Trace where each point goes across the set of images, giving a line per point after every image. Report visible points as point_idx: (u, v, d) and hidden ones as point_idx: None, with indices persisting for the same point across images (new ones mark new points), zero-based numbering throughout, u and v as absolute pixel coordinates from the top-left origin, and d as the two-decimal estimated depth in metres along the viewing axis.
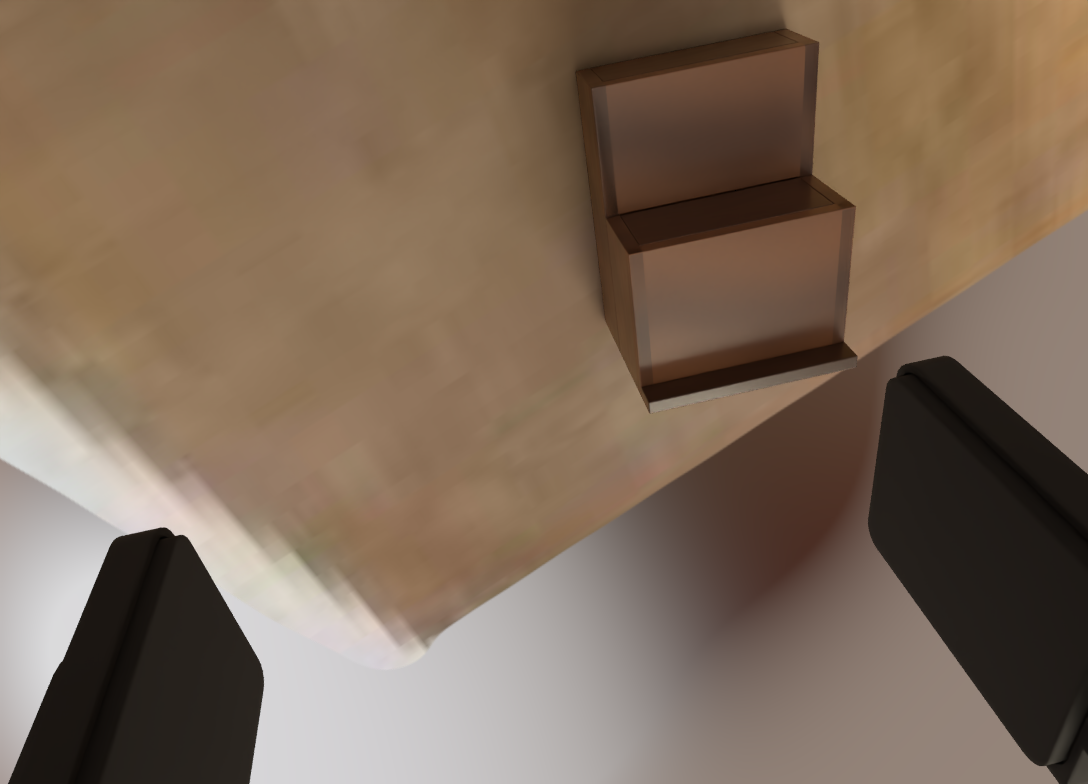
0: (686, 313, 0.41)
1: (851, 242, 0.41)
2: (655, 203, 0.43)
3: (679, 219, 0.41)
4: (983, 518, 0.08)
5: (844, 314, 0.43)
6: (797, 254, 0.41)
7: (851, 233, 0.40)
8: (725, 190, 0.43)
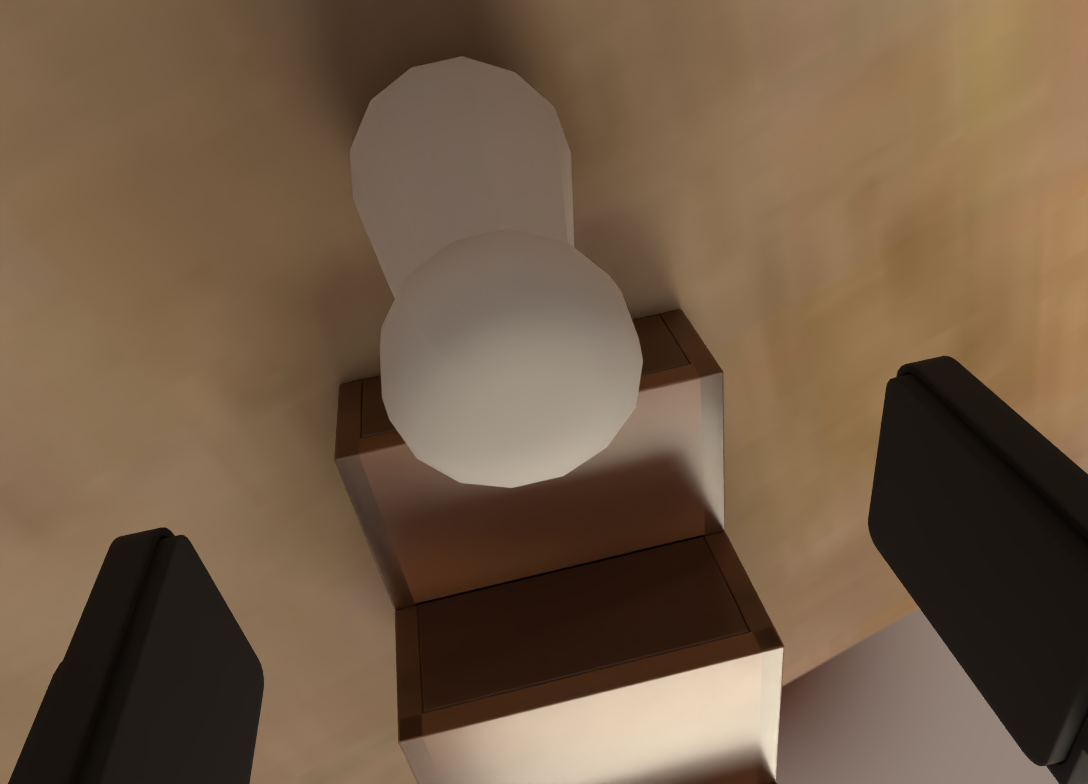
0: None
1: (780, 685, 0.25)
2: (474, 586, 0.27)
3: (501, 636, 0.25)
4: (983, 518, 0.08)
5: (774, 756, 0.27)
6: (691, 707, 0.25)
7: (779, 675, 0.25)
8: (586, 561, 0.27)
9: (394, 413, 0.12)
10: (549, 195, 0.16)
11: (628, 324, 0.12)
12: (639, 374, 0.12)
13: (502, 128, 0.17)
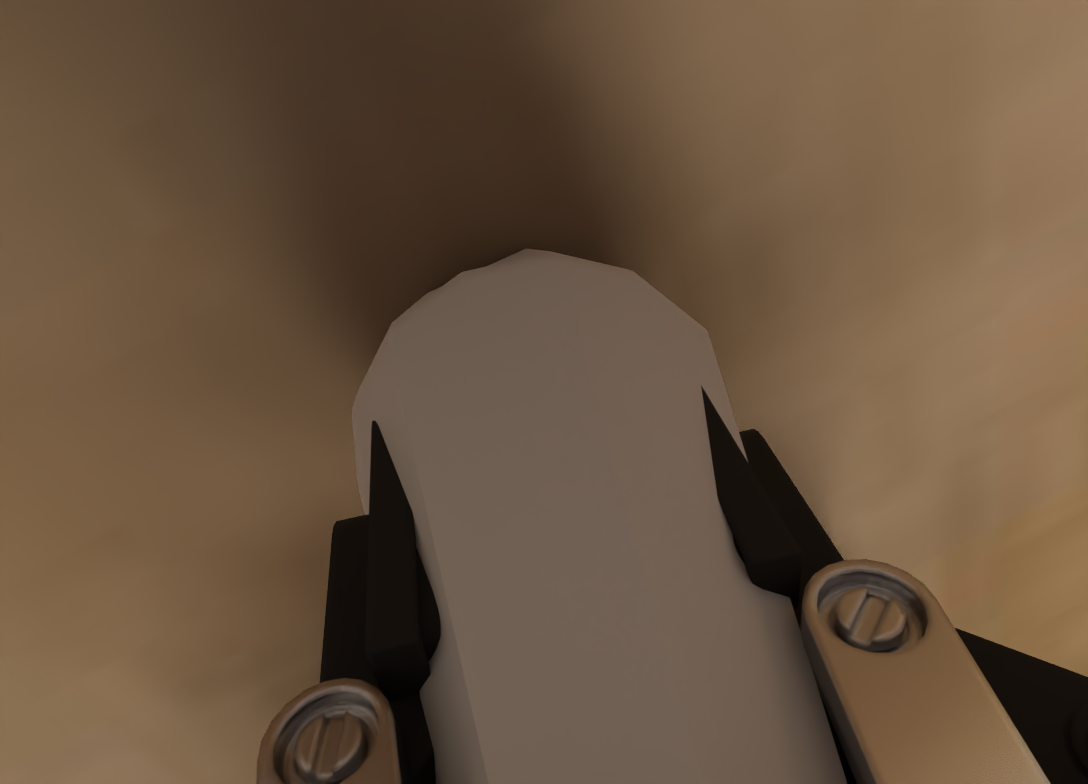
0: None
1: None
2: None
3: None
4: None
5: None
6: None
7: None
8: None
9: None
10: (780, 648, 0.07)
11: None
12: None
13: (658, 455, 0.08)
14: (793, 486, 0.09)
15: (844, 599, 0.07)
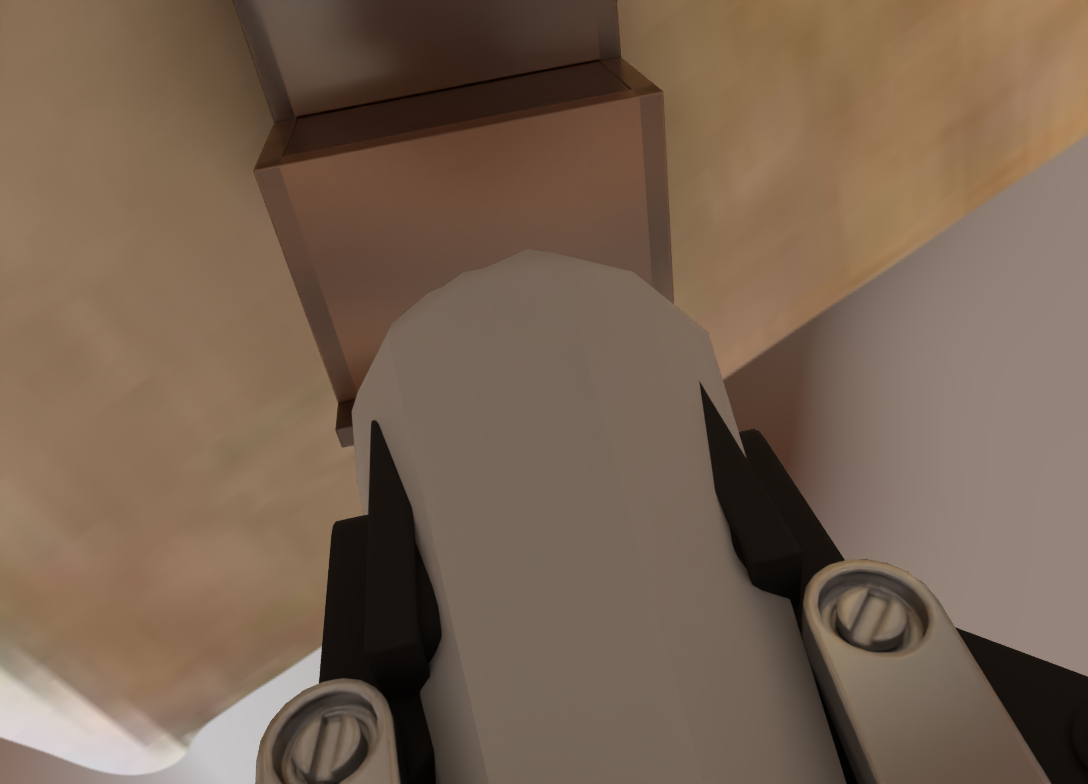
0: (389, 279, 0.24)
1: (665, 159, 0.24)
2: (357, 99, 0.26)
3: (377, 120, 0.24)
4: None
5: (669, 285, 0.26)
6: (570, 177, 0.24)
7: (661, 141, 0.23)
8: (475, 80, 0.26)
9: None
10: (780, 649, 0.07)
11: None
12: None
13: (659, 456, 0.08)
14: (794, 486, 0.09)
15: (845, 599, 0.07)
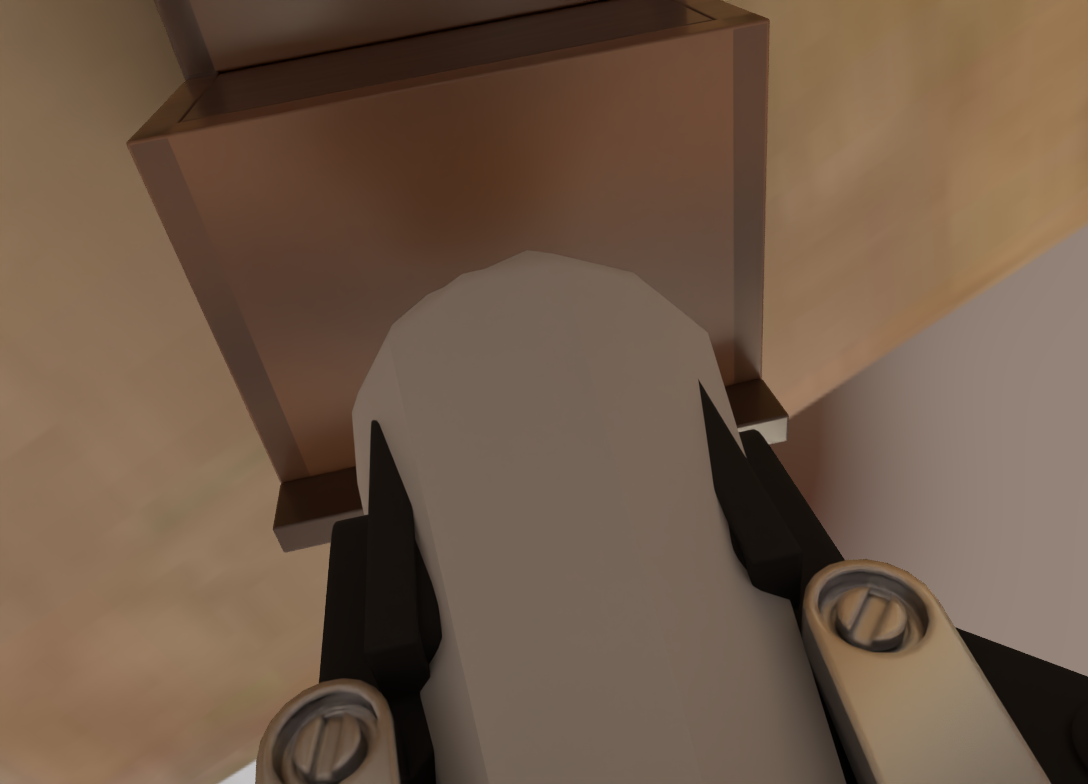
0: (348, 309, 0.16)
1: (765, 128, 0.16)
2: (305, 46, 0.18)
3: (330, 71, 0.16)
4: None
5: (758, 315, 0.18)
6: (621, 156, 0.15)
7: (762, 100, 0.15)
8: (477, 18, 0.18)
9: None
10: (781, 650, 0.07)
11: None
12: None
13: (659, 458, 0.08)
14: (794, 486, 0.09)
15: (845, 599, 0.07)
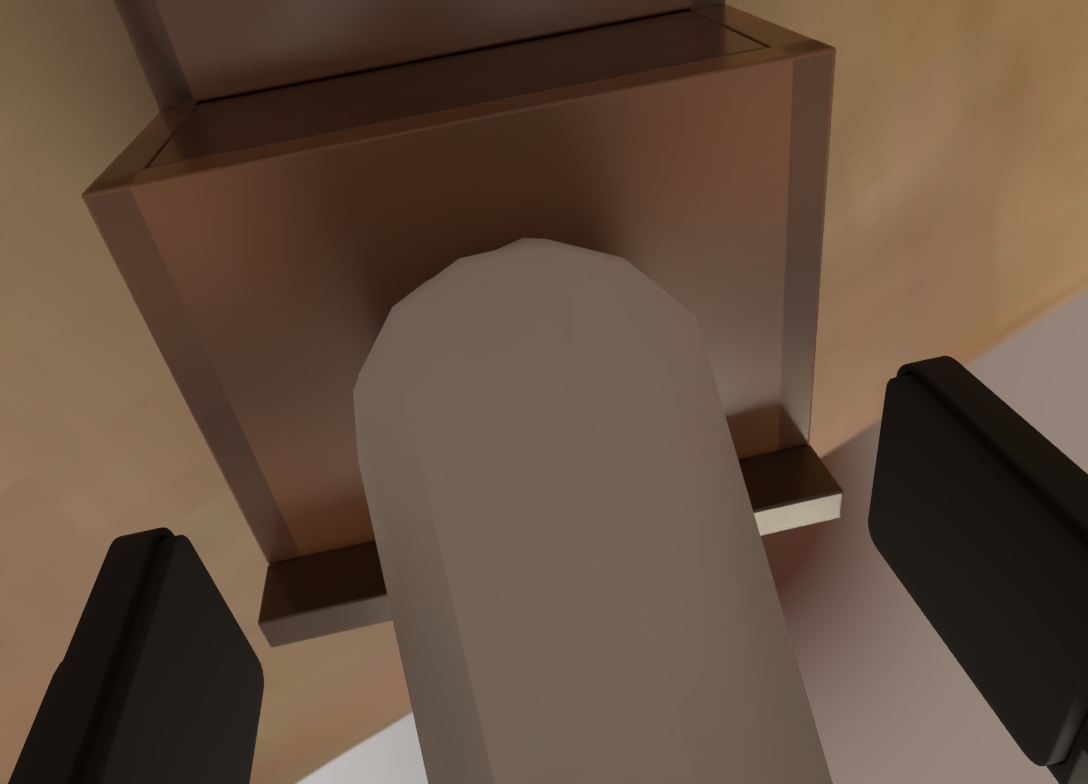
0: (344, 377, 0.14)
1: (825, 171, 0.14)
2: (296, 72, 0.16)
3: (323, 104, 0.14)
4: (983, 518, 0.08)
5: (808, 376, 0.16)
6: (659, 204, 0.13)
7: (823, 140, 0.13)
8: (490, 41, 0.16)
9: None
10: (757, 607, 0.08)
11: None
12: None
13: (644, 428, 0.09)
14: None
15: None
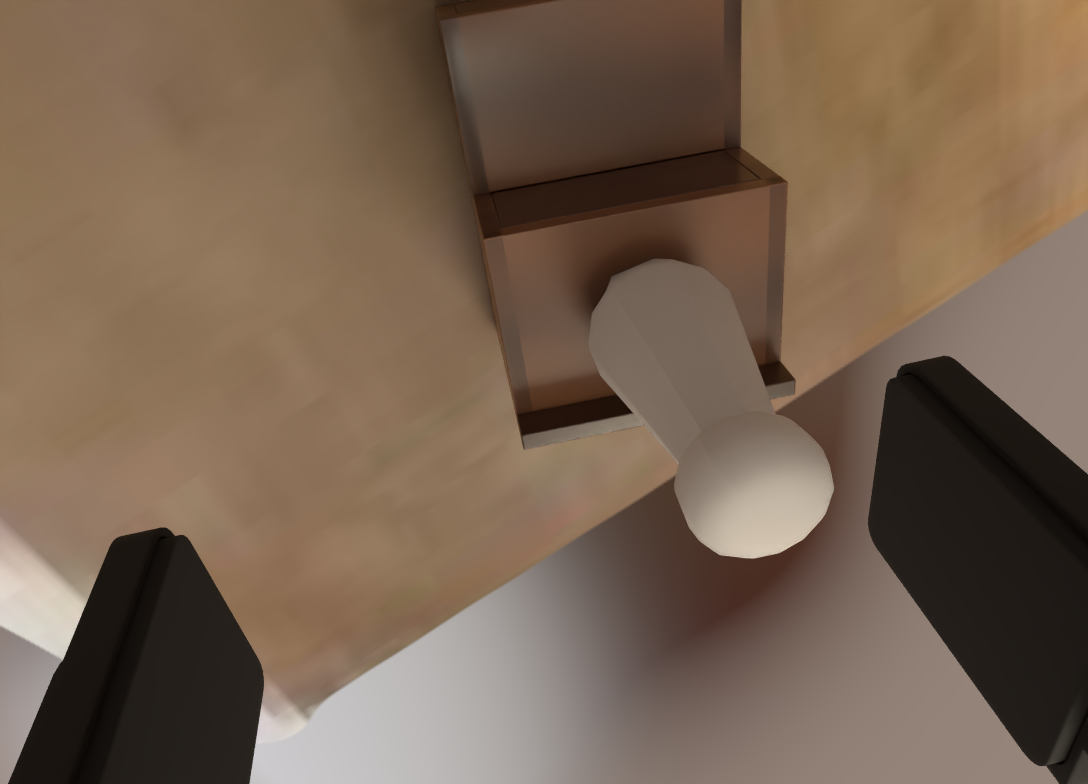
0: (569, 320, 0.32)
1: (784, 231, 0.31)
2: (537, 179, 0.33)
3: (561, 197, 0.32)
4: (983, 518, 0.08)
5: (779, 325, 0.33)
6: (712, 244, 0.31)
7: (783, 218, 0.31)
8: (628, 164, 0.34)
9: (696, 517, 0.21)
10: (753, 371, 0.25)
11: (829, 470, 0.21)
12: (831, 495, 0.22)
13: (716, 322, 0.26)
14: None
15: None
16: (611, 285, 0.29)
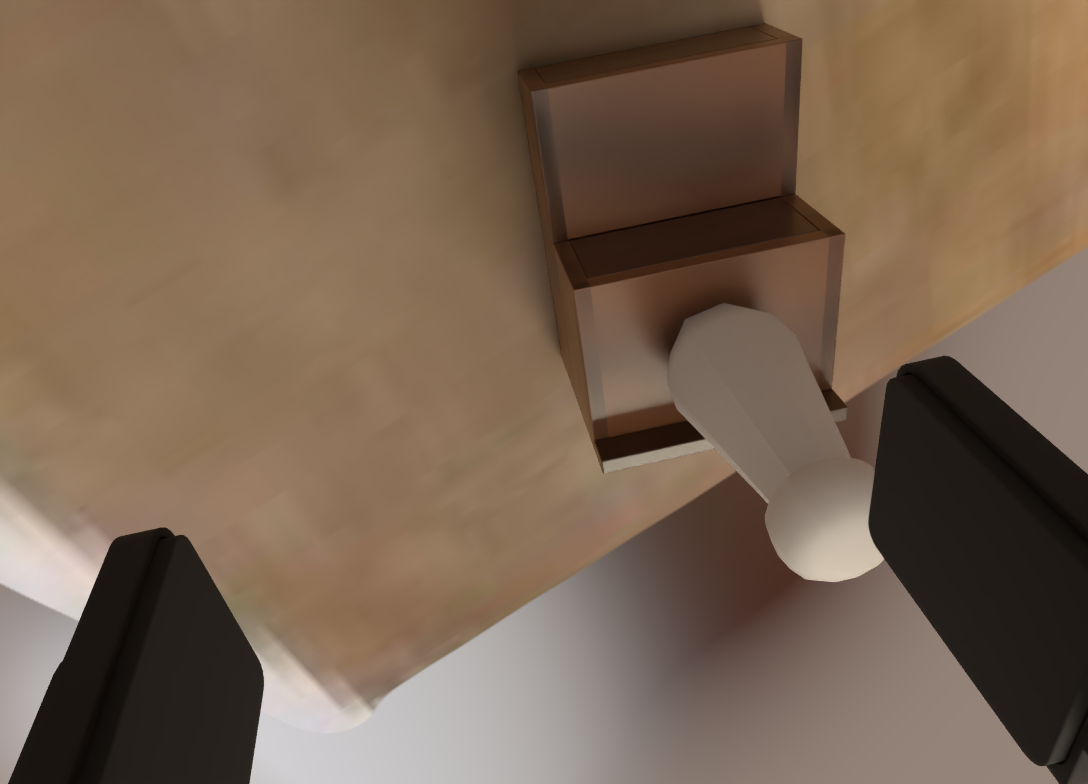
0: (645, 357, 0.35)
1: (840, 276, 0.34)
2: (611, 226, 0.37)
3: (637, 246, 0.35)
4: (983, 518, 0.08)
5: (832, 358, 0.37)
6: (776, 289, 0.34)
7: (840, 265, 0.34)
8: (693, 212, 0.37)
9: (789, 549, 0.25)
10: (826, 414, 0.29)
11: None
12: None
13: (790, 369, 0.30)
14: None
15: None
16: (690, 331, 0.32)
